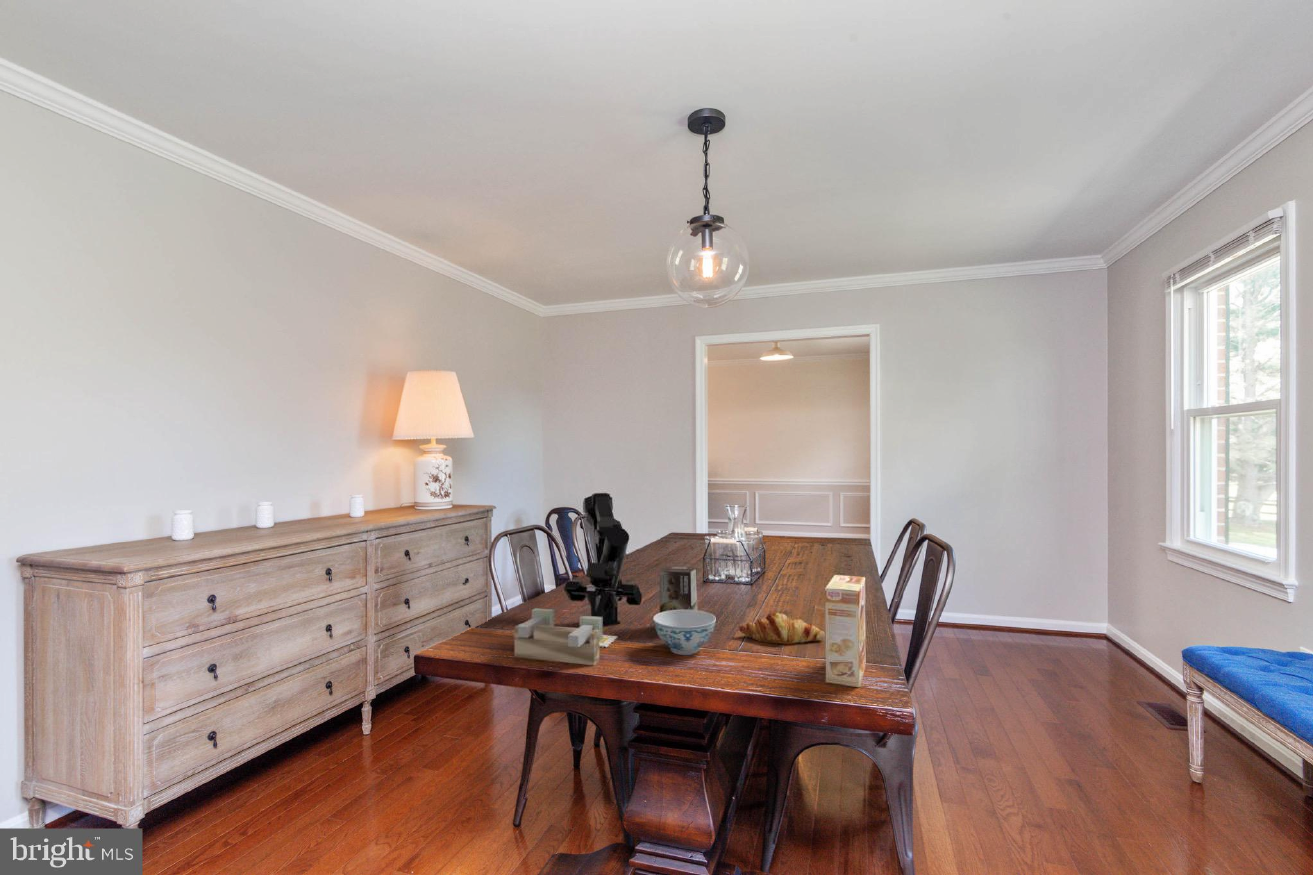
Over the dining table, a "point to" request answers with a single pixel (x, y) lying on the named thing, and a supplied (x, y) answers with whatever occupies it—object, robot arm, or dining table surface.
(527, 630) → the button
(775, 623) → the croissant
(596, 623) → the button
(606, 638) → the card
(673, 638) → the chinaware
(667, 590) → the coffee box
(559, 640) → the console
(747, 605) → the dining table surface
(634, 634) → the dining table surface
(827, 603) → the coffeecake box
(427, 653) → the dining table surface
